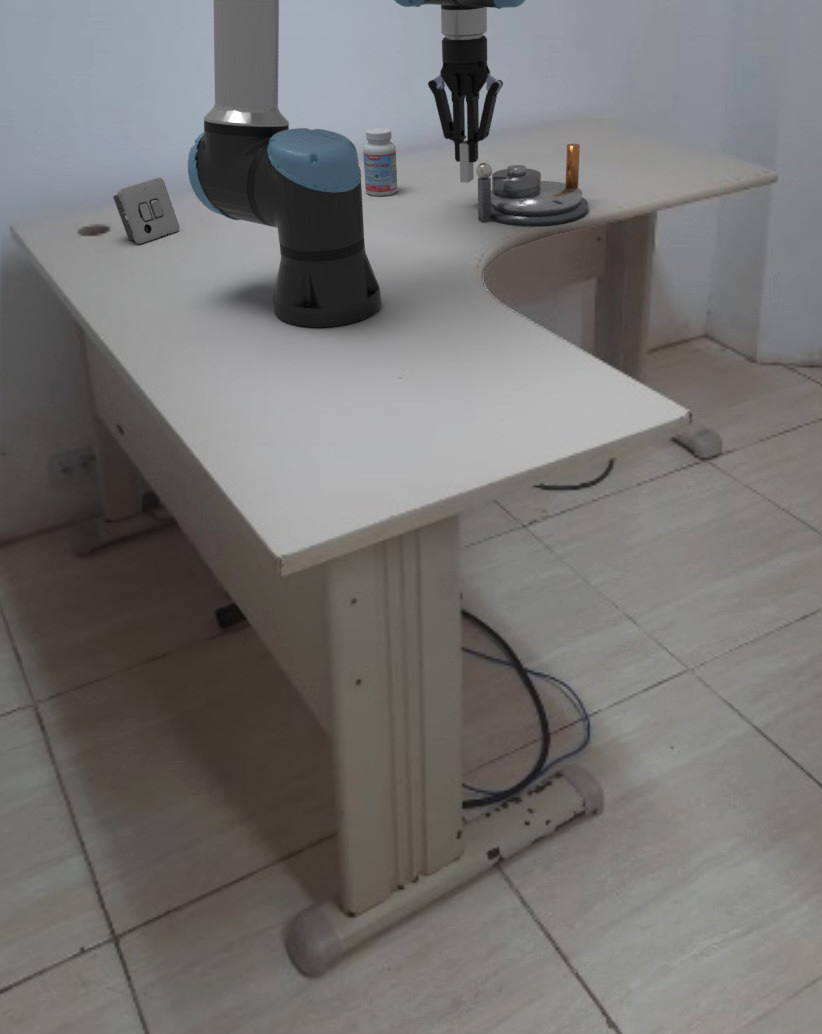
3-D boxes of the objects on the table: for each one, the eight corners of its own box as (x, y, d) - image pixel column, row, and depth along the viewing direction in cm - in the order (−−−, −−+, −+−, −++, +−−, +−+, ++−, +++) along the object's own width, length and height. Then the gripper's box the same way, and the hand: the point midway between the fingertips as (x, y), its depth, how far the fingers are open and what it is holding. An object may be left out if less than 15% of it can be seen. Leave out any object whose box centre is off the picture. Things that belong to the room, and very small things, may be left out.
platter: (603, 204, 181) (605, 153, 177) (520, 220, 175) (520, 168, 171) (552, 183, 194) (553, 135, 189) (472, 198, 188) (472, 149, 183)
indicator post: (495, 221, 181) (494, 163, 176) (481, 224, 180) (481, 165, 175) (487, 217, 183) (487, 160, 178) (474, 220, 182) (473, 162, 177)
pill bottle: (361, 196, 198) (357, 134, 192) (371, 187, 203) (368, 126, 197) (392, 197, 197) (388, 134, 191) (402, 188, 202) (398, 127, 196)
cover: (549, 193, 183) (550, 168, 181) (508, 201, 180) (508, 176, 178) (524, 182, 190) (524, 158, 187) (483, 190, 187) (483, 166, 184)
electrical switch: (139, 246, 179) (125, 190, 174) (120, 244, 182) (106, 189, 177) (181, 231, 185) (169, 177, 180) (162, 230, 188) (150, 176, 184)
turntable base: (608, 214, 182) (608, 207, 181) (518, 232, 175) (518, 225, 174) (550, 190, 195) (550, 184, 195) (465, 207, 189) (465, 200, 188)
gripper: (509, 32, 175) (508, 177, 188) (436, 31, 180) (440, 172, 193) (493, 39, 170) (494, 188, 182) (419, 38, 174) (424, 183, 187)
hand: (467, 180), depth 187 cm, fingers closed
